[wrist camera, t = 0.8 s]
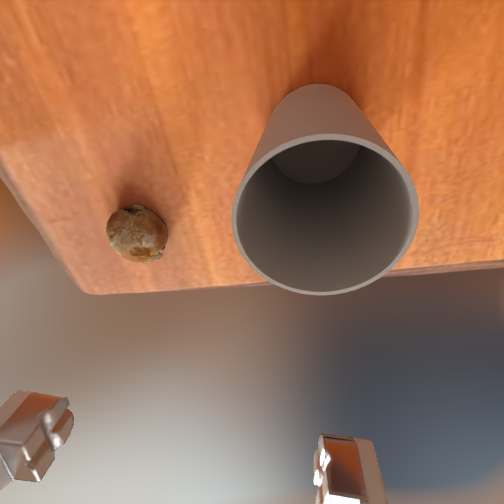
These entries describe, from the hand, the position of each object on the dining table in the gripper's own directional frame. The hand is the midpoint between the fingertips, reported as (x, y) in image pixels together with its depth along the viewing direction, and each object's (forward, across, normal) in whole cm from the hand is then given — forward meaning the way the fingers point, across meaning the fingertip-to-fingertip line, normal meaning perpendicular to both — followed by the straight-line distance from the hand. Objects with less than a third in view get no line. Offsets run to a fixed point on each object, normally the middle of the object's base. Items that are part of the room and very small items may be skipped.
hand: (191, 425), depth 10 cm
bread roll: (+42, +21, +14) cm, 49 cm away
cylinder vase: (+39, -6, -5) cm, 40 cm away
